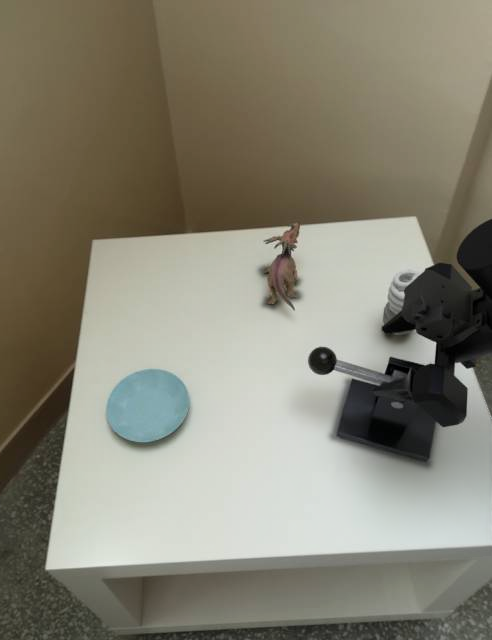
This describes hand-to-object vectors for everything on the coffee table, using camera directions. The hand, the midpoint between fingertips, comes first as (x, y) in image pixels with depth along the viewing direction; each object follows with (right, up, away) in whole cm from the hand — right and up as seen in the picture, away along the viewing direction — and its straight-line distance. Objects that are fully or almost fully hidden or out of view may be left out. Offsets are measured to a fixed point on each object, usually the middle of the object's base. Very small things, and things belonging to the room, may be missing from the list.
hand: (378, 360), depth 64 cm
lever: (-2, -2, +4) cm, 5 cm away
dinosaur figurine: (-9, +12, +24) cm, 28 cm away
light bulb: (+8, +4, +18) cm, 20 cm away
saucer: (-29, -7, +13) cm, 33 cm away
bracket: (+4, -8, +9) cm, 13 cm away
